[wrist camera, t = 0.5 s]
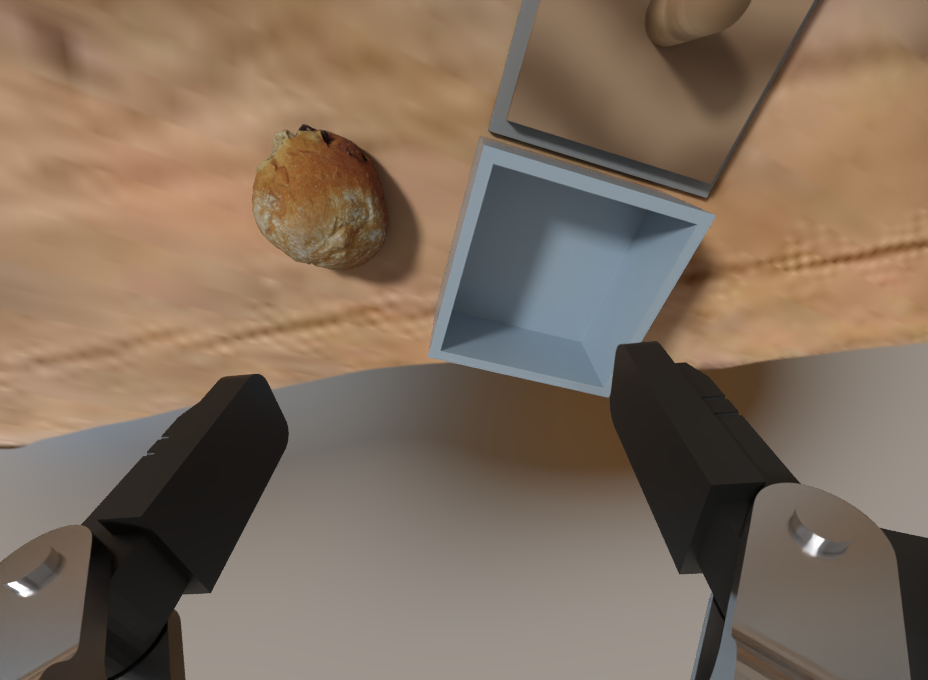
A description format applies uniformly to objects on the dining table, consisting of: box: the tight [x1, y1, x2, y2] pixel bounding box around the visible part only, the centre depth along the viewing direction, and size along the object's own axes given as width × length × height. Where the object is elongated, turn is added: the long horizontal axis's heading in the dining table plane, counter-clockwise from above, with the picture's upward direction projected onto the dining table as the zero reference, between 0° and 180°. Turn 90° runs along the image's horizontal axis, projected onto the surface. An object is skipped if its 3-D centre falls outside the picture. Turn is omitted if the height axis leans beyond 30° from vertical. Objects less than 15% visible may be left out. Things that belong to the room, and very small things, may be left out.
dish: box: [428, 136, 716, 397], centre depth 30 cm, size 15×15×8 cm
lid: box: [506, 0, 814, 184], centre depth 22 cm, size 16×16×7 cm
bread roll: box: [252, 124, 388, 270], centre depth 30 cm, size 10×10×8 cm
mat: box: [488, 0, 819, 198], centre depth 25 cm, size 18×18×1 cm
